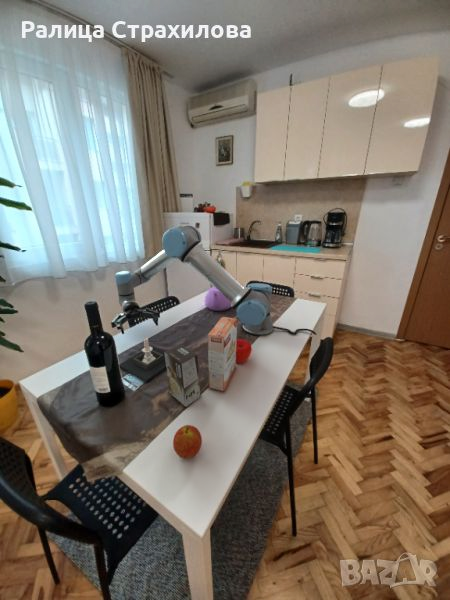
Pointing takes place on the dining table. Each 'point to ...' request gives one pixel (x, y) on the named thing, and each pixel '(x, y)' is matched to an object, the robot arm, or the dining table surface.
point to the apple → (242, 350)
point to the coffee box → (183, 374)
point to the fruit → (187, 441)
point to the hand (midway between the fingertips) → (140, 326)
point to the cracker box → (222, 352)
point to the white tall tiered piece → (147, 352)
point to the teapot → (216, 300)
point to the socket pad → (145, 365)
